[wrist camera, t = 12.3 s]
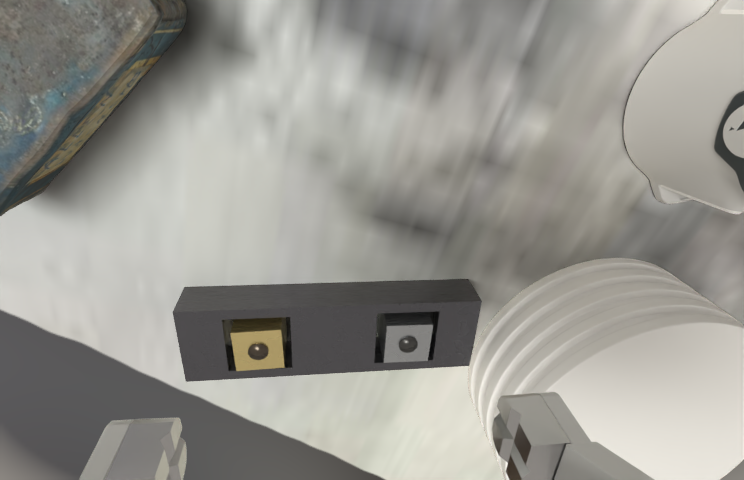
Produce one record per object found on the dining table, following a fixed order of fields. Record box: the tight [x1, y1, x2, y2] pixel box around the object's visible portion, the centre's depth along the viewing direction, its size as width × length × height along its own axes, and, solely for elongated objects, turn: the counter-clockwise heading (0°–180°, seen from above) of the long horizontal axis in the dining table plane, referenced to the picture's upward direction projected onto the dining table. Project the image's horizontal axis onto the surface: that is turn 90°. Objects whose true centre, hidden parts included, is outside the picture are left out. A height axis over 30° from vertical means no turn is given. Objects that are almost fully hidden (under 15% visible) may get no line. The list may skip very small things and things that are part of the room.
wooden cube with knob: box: [230, 317, 287, 371], centre depth 42 cm, size 4×4×5 cm
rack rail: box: [173, 279, 482, 381], centre depth 43 cm, size 28×8×4 cm, turn 87°
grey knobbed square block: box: [377, 312, 433, 363], centre depth 44 cm, size 4×4×5 cm
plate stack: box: [468, 258, 744, 480], centre depth 48 cm, size 28×28×12 cm
